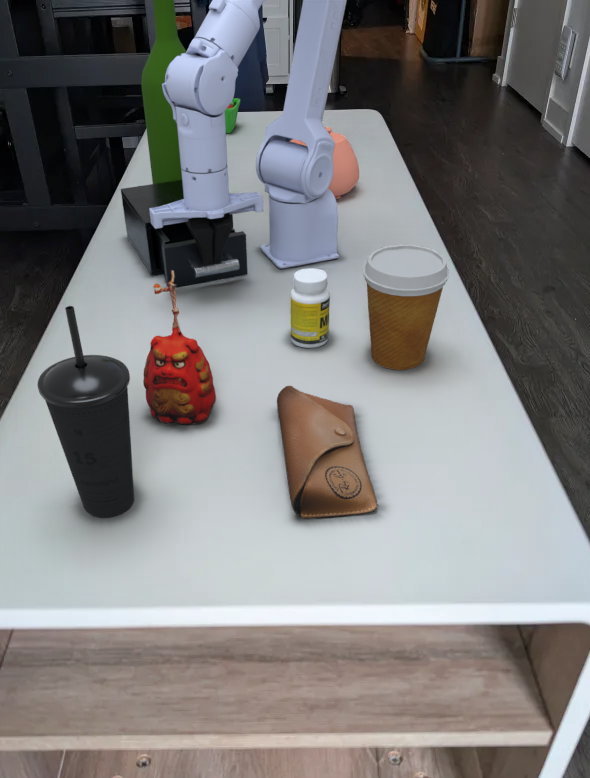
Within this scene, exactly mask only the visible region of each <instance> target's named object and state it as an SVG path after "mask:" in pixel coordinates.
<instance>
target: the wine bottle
mask: <svg viewBox="0 0 590 778" xmlns="http://www.w3.org/2000/svg"><path fill="white" fill-rule="evenodd" d="M152 6H153V18H154V31H155V38H154V39H155V40H154V43H153V45H152V48H151V50H150V53H149V55H148V58H147V60H146V61H145V65H144V67H143V69H142V72H141V83H140V85H141V95H142V102H143V111H144V119H145V120H144V121H145V128H146V139H147V146H148V154H149V164H150V171H151V181H152V184H157V183H163V182H170V181H177V180H182V172H181V162H180V151H179V140H178V129H177V123H176V121H175V120H174V119H173V110H172V107H171V105H170V104H169V102H168V101H167V100H166V98H165V95H164V93H163V88H162V84H163V83H165V75H166V71H167V68H168V66H169V64H170V63H171V62H172V61H173V60H174V59H175V58H176V57H177V56H181V55H180V54H182V53H186V51H187V50H186V48H185V47H184V45H183V43H182V42H181V41H180V37H179V36H178V25H177V17H176V6H175V0H152Z"/></svg>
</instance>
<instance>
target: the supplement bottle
mask: <svg viewBox="0 0 590 778" xmlns="http://www.w3.org/2000/svg"><path fill="white" fill-rule="evenodd" d="M292 282H293V283H292V285H293V288H292V289H291V291H290V341H291V343H293V344H294V345H295V346H298V347H300V348H306V349H312V348H318V347H321V346H324V345H325V344H327V342H328V340H329V336H330V335H329V334H330V333H329V330H330V303H331V293H330V290H329V289H328V285H329V282H328V274H327V272H326V271H324V270H322V269H320V268H312V267H311V268H310V267H309V268H302V269H299V270H297V271H296V272H294V274H293V281H292Z"/></svg>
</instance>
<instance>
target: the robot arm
mask: <svg viewBox="0 0 590 778" xmlns="http://www.w3.org/2000/svg"><path fill="white" fill-rule="evenodd" d="M265 1H266V0H212V1H211V2H210V4H209V6H208V9H209V10H208V13H207V14H206V15H205V18H204V19H203V21H202V23H201V24H200V26H199V29H198V30H197V32H196V34H195V35H194V37H193V39H192V40H191V42H190V43H189V45H188V48H187V50H186V53H182V54H180V55H181V56H177V57H176V58H175V59H174V60H173V61H172V62H171V63H170V64H169V66H168V68H167V71H166V75H165V83H163V84H162V88H163V93H164V95H165V98H166V100H167V101H168V102H169V104H170V105H171V107H172V110H173V119H174V120H175V121H176V123H177V129H178V140H179V151H180V162H181V172H182V183H183V194H184V199H182V200H179V201H176V202H173V203H169V204H166V205H163V206H159V207H155V208H150V209H149V211H150V219H151V224H152V226H153V227H154V228H155V229H157V228H162V227H163V225H169V224H175V223H181V222H185V223H186V224H187V226H188V228H189V230H190V231H191V233H192V235H193V237H194V239H195V241H196V244H197V246H198V248H199V251H200V254H201V257H202V260H203V264H204V265H205V264H210V263H216V262H221V257H222V253H223V250H224V247H225V244H226V241H227V239H228V237H229V235H230V233H231V231H232V228H234V220H233V221H232V220H231V219H230V215H231V214H232V215H236V214H237V215H238V214H242V213H249V212H255V213H262V212H264V196H263V195H262V194H261V193H260V192H259V191H253V192H252V191H251V192H230V186H229V185H230V184H229V170H228V168H229V165H228V149H227V148H228V147H227V133H226V128H225V110H226V109H227V107H228V106H229V104H231V102H232V100H233V98H234V97H235V91H236V79H237V78H238V77H239V74H238V72H239V66H240V65H241V63H242V61H243V59H244V57H245V56H246V54H247V51H248V50H249V48H250V46H251V45H252V43H253V41H254V40H255V38H256V36H257V35H258V32H259V30H260V27H261V23H260V21H261V20H260V17H259V9H260V8H261V7H262V5H263V4H264V2H265ZM347 1H348V0H302V5H301V11H300V16H299V21H298V27H297V33H296V38H295V42H294V43H295V44H294V49H293V53H292V54H293V55H292V61H291V65H290V66H291V67H290V72H289V76H288V83H287V88H286V93H285V100H284V104H283V109H282V114H281V115H280V116H279V117H278V118H276V119H275V120H273V121H272V122H271V123H269V125H268V126H266V128H265V134H264V139H263V142H262V144H261V146H260V147H259V149H258V152H257V155H256V160H255V171H256V172H255V173H256V176H257V178H258V180H259V181H260V183H262V184H263V185H264V192H265V193H267V194H268V214H269V215H268V216H269V217H268V218H269V219H268V220H269V221H268V222H269V243H268V244H262V245H261V246H260V250H261V251H262V252H263V253H264V255H265V256H267V258H268V259H269V260H270V261H271V262H272V263H273V264H274V265H275V266H276V267H277V268H278V269H288V268H293V267H298V266H304V265H309V264H315V263H320V262H325V261H329V260H330V261H331V260H336V259H338V258H339V257H340V254H339V253H338V227H339V226H338V224H339V223H338V222H339V211H338V204H337V199H335V197H334V195H333V193H332V192H331V190H329V189H328V187H329V185H330V183H331V181H332V177H333V151H334V146H335V142H334V140H333V138H332V137H331V135H330V134H329V133H328V131H327V130H326V128H325V127H326V126H325V125H324V124H323V119H324V114H325V110H326V104H327V100H328V94H329V89H330V85H331V79H332V74H333V69H334V64H335V60H336V54H337V51H338V44H339V40H340V35H341V31H342V24H343V20H344V16H345V10H346V6H347ZM292 139H295V140H299V141H302V142H304V143H305V144H306V145H307V146H304V145H300V144H297V143H293V142H290V141H291V140H292ZM218 274H219V273H218ZM213 275H214V274H213Z"/></svg>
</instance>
